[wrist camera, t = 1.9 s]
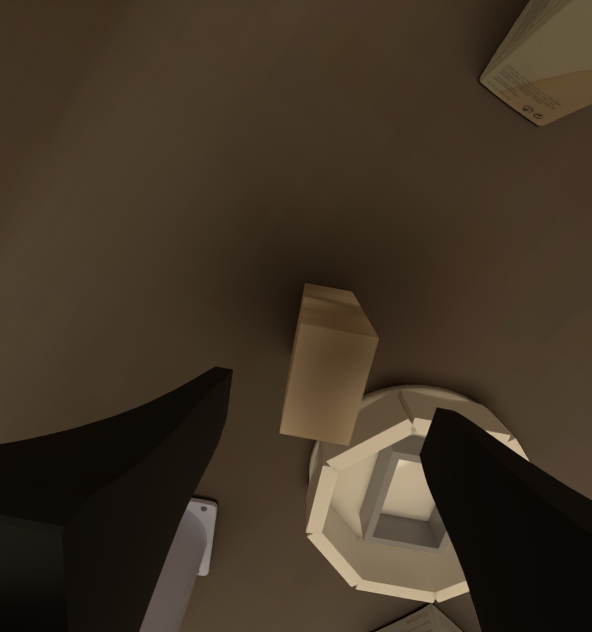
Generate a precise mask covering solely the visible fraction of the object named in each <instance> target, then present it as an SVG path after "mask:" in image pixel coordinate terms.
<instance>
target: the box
mask: <svg viewBox="0 0 592 632" xmlns="http://www.w3.org/2000/svg"><path fill="white" fill-rule="evenodd" d="M479 80H480V82H481V83H482V84H483V85H484V86H485V87H487V88H488V89H489V90H490V91H491V92H493V93H494V94H495V95H496V96H498V97H499V98H500V99H501V100H503V101H504V102H505V103H507V104H508V105H509V106H511V107H512V108H514V109H515V110H516V111H518V112H519V113H521V114H522V115H523V116H525V117H526V118H528V119H529V120H531V121H532V122H533V123H535V124H536V125H538V126H543V125H545V124H547V123H550V122H552V121H554V120H557V119H559V118H561V117H563V116H565V115H568V114H570V113H572V112H575V111H577V110H579V109H581V108H584V107H586V106H588V105H590V104H592V0H530V1H529V2H528V4H527V5H526V7H525V8H524V10H523V11H522V13H521V14H520V16H519V17H518V19H517V20H516V22H515V23H514V25H513V27H512V28H511V30H510V31H509V33H508V34H507V36H506V37H505V39H504V40H503V42H502V43H501V45H500V46H499V48H498V49H497V51H496V53H495V54H494V56H493V57H492V59H491V61H490V62H489V64H488V65H487V67H486V69H485V70H484V72H483V73H482V75H481V77H480V79H479Z"/></svg>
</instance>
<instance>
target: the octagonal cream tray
mask: <svg viewBox="0 0 592 632" xmlns="http://www.w3.org/2000/svg"><path fill="white" fill-rule="evenodd" d="M437 407H438V408H443V409H449V410H454V411H456V412H458V413H460V414H461V415H463V416H464V417H466V418H468V419H469V420H471V421H472V422H473V423H475V424H476V425H478V426H479V427H481V428H482V429H484V430H485V431H486V432H488V433H489V434H491V435H492V436H493V437H495V438H496V439H498V440H499V441H500V442H502V443H503V444H505V445H506V446H507V447H509V448H510V449H512V450H513V451H515V452H516V453H517V454H519V455H520V456H522V457H523V458H525V459H526V460H528V458H527V457H526V455H525V453H524V452H523V450H522V448H521V446H520V445H519V443H518V441H517V440H516V438H515V437H514V436H513V435H512V434H511V433H510V432H509V431H508V430H507V429H506V428H505V426H504V425H503V424H502V423H501V422H500V421H499V420H498V419H497V418H496V417H495V416H494V415H493V414H492V413H491V412H490V410H489V409H488V408H487V407H486V408H485V407H484V406H483V405H482V404H477V403H476V402H474V401H473V400H471V399H469V398H467V397H466V396H464V395H462V394H459V393H457V392H454V391H452V390H449V389H445V388H441V387H437V386H429V385H400V386H392V387H388V388H383V389H379V390H376V391H374V392H371V393H368V394H366V395H363V397H362V400H361V404H360V408H359V411H358V415H357V418H356V422H355V426H354V429H353V433H352V436H351V440H350V444H349V446H346V445H341V444H335V443H330V442H324V441H319V440H316V441H315V443H314V446H313V449H312V452H311V457H310V463H309V486H308V490H307V504H306V532H307V537H308V538H309V539H310V540H311V541H312V543H313V544H314V545H315V546H316V547H317V548H318V549H319V550H320V552H321V553H322V554H323V555H324V556H325V557H326V558H327V560H328V561H329V562H330V563H331V564H332V565H333V566H334V568H335V569H336V570H337V571H338V572H339V573H340V574H341V575H342V577H343V578H344V579H345V580H346V581H347V582H348V583H349V585H350V586H351V587H353V586H356V589H358V590H363V591H369V592H374V593H380V594H385V595H391V596H396V597H402V598H407V599H413V600H419V601H424V602H430V603H433V602H434V600H435V599H436V600H437V601H438V603H439V602H442V601H444V600H447V599H450V598H452V597H455V596H458V595H460V594H463V593H465V592H468V591H469V588H468V585H467V582H466V579H465V576H464V573H463V570H462V568H461V565H460V562H459V560H458V557H457V554H456V552H455V550H454V547H453V545H452V543H451V540H450V538H449V536H448V533H447V531H446V528H445V526H444V524H443V521H442V519H441V517H440V514H439V512H438V510H437V507H436V505H435V502H434V500H433V497H432V495H431V493H430V490H429V488H428V485H427V482H426V479H425V475H424V472H423V468H422V464H421V460H420V456H419V454H420V452H421V449H422V446H423V443H424V441H425V438H426V435H427V432H428V430H429V427H430V424H431V422H432V419H433V416H434V413H435V411H436V408H437ZM528 461H529V460H528Z"/></svg>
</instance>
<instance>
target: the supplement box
mask: <svg viewBox="0 0 592 632" xmlns="http://www.w3.org/2000/svg"><path fill="white" fill-rule="evenodd" d="M375 632H462V631H461V630H460V629H459V628H458V627H457V626H456V625H455V624H454V623H453V622H452V621H451V620H450V619H448V618H447V617H446V616H445V615H444V614H443V613H442V612H441V611H440V610H439V609H438V608H436V607H435V606H434V605H433V604H431V603H429V604H428V605H427V606H426V607H424V608H423V609H421V610H419V611H417V612H415V613H413V614H411V615H409V616H407V617H405V618H403V619H401V620H399V621H397V622H395V623H393V624H391V625H388V626H386V627H384V628H382V629H380V630H378V631H375Z"/></svg>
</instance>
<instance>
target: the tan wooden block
mask: <svg viewBox="0 0 592 632" xmlns="http://www.w3.org/2000/svg"><path fill="white" fill-rule="evenodd" d="M378 339H379V337H378V336H377V334H376V332H375V330H374V329H373V327H372V325H371V324H370V322H369V320H368V318H367V317H366V315H365V313H364V311H363V310H362V308H361V306H360V304H359V303H358V301H357V299H356V297H355V296H354V294H353V292H351V291H346V290H340V289H335V288H330V287H324V286H319V285H313V284H308V283H305V286H304V291H303V296H302V302H301V307H300V312H299V317H298V323H297V328H296V333H295V338H294V344H293V349H292V354H291V360H290V367H289V374H288V380H287V387H286V393H285V400H284V406H283V413H282V420H281V426H280V433H281V434H286V435H292V436H297V437H303V438H308V439H313V440H319V441H324V442H330V443H335V444H341V445H346V446H349V444H350V440H351V436H352V433H353V429H354V426H355V422H356V418H357V415H358V411H359V408H360V404H361V400H362V397H363V393H364V390H365V386H366V383H367V379H368V375H369V372H370V368H371V365H372V361H373V357H374V354H375V350H376V347H377V343H378Z"/></svg>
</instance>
